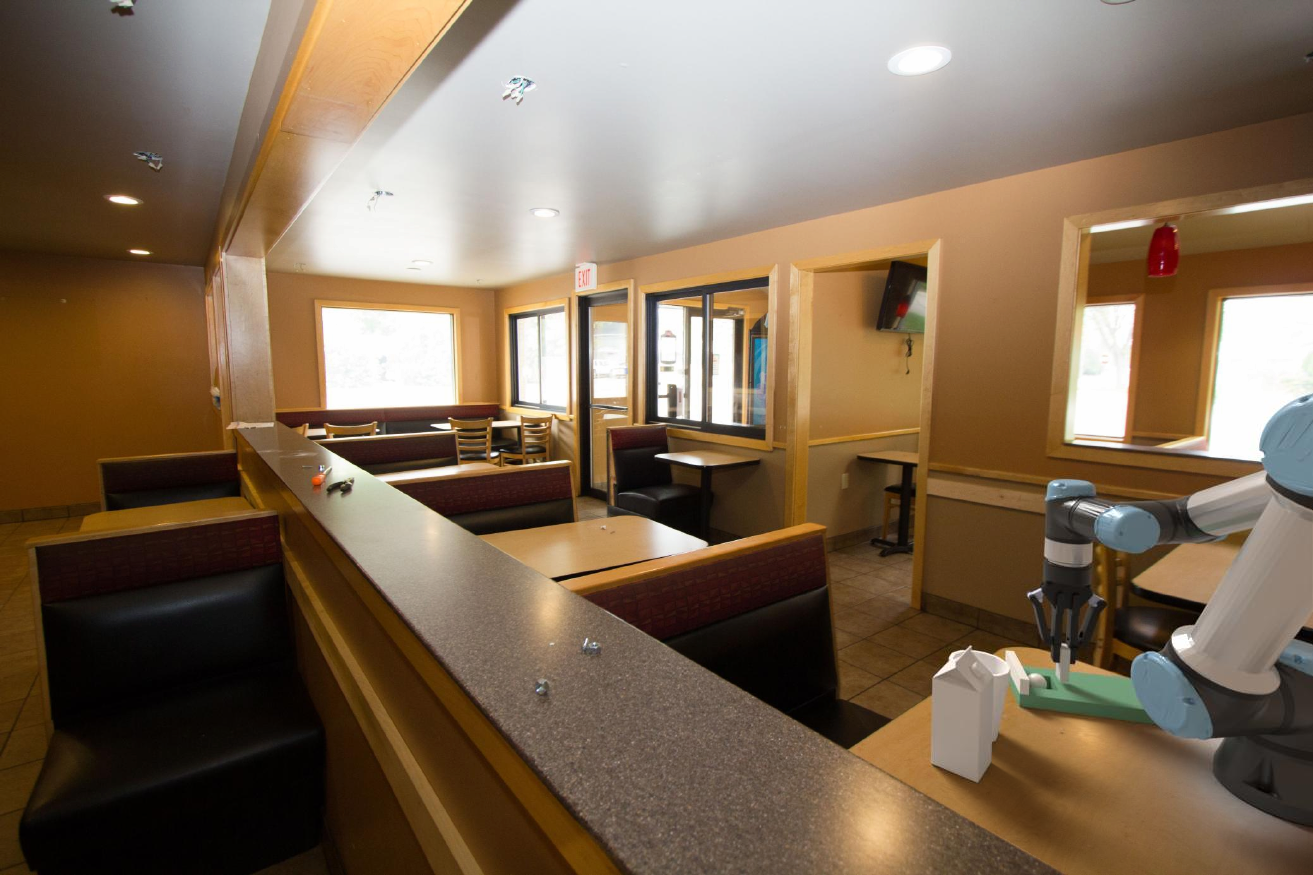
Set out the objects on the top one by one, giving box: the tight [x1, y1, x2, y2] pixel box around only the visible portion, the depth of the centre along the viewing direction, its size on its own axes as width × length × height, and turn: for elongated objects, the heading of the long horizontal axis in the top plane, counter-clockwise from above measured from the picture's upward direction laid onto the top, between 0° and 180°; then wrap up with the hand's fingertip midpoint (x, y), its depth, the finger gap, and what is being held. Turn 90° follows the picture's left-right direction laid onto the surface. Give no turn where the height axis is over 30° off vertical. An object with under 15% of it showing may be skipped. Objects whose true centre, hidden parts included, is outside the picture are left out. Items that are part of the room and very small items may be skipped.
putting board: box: [1004, 650, 1157, 725], centre depth 115 cm, size 12×22×6 cm, turn 71°
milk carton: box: [930, 645, 994, 784], centre depth 96 cm, size 7×7×19 cm
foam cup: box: [948, 649, 1010, 743], centre depth 105 cm, size 10×9×13 cm
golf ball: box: [1028, 673, 1048, 689], centre depth 118 cm, size 4×4×4 cm
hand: (1062, 678), depth 115 cm, fingers closed
